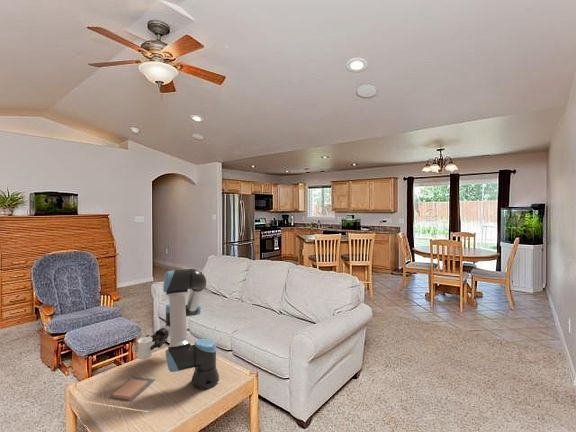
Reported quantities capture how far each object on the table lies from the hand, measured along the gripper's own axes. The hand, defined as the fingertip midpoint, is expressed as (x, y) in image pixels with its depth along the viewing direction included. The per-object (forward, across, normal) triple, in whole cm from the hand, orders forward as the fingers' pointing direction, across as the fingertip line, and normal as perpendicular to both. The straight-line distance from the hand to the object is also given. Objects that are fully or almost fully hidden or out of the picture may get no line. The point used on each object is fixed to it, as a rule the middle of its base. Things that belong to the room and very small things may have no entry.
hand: (139, 350), depth 170 cm
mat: (+5, 0, -19) cm, 20 cm away
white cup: (-5, 0, -6) cm, 8 cm away
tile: (0, 0, -17) cm, 17 cm away
